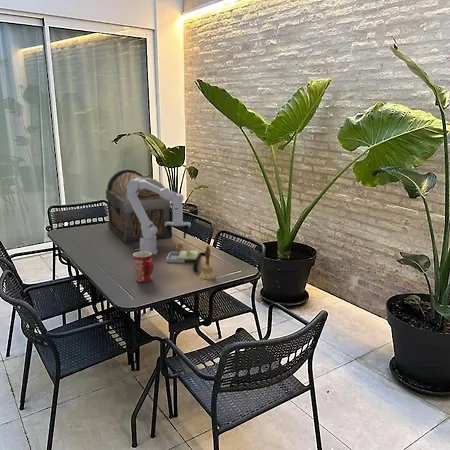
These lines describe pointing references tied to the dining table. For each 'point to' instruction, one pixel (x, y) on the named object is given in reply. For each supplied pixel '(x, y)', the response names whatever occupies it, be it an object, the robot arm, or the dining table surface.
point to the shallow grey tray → (174, 258)
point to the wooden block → (179, 246)
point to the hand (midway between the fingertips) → (177, 238)
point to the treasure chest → (124, 213)
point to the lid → (188, 254)
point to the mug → (143, 266)
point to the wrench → (197, 262)
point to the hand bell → (207, 267)
